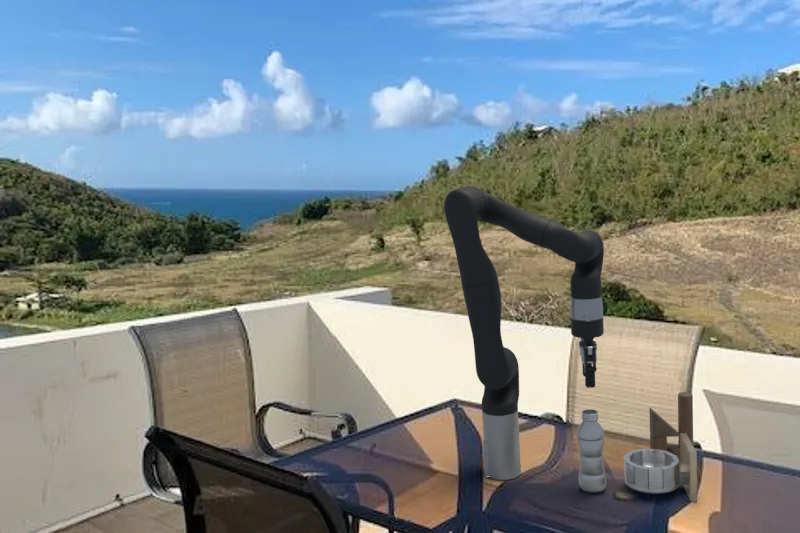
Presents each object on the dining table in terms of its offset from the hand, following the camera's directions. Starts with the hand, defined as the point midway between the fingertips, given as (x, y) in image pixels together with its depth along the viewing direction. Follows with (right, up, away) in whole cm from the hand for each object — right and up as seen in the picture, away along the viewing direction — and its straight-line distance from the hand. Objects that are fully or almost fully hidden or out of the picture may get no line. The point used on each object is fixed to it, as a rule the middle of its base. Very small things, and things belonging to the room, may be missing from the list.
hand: (588, 381), depth 190 cm
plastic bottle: (+2, -27, +4) cm, 28 cm away
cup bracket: (+17, -26, +2) cm, 32 cm away
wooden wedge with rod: (+26, -24, +18) cm, 40 cm away
